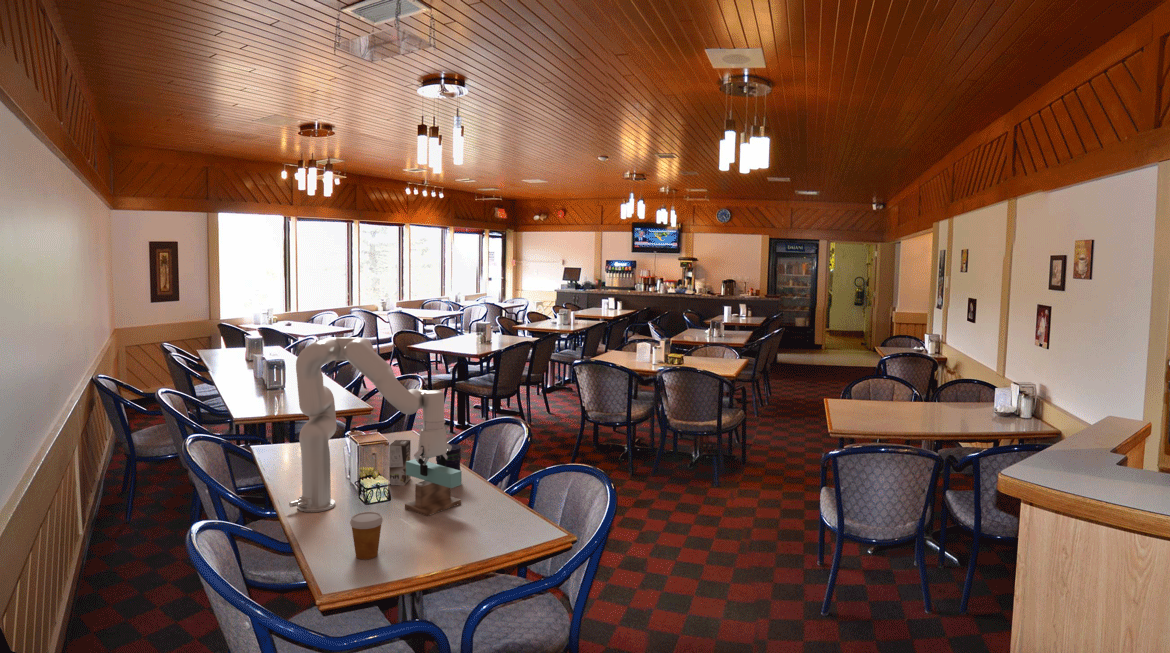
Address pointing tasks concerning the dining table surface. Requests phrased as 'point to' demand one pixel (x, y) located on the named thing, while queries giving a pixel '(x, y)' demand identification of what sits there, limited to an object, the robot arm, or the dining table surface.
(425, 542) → the dining table surface
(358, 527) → the disposable coffee cup
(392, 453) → the coffee box
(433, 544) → the dining table surface
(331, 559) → the dining table surface
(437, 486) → the walnut ridge stand
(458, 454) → the storage jar
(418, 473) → the teal bar
